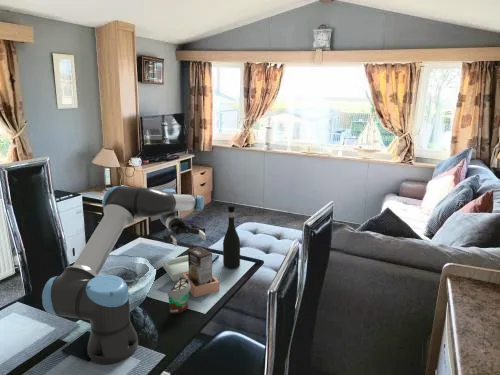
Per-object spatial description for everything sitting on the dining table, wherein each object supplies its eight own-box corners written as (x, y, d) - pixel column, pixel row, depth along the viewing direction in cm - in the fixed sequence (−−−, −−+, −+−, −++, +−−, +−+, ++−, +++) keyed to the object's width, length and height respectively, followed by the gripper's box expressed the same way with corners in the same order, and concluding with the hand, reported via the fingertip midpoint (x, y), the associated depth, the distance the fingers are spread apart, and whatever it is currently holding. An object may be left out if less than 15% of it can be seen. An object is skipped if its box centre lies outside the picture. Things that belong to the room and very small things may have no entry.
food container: (184, 317, 131) (183, 293, 129) (168, 315, 133) (167, 291, 130) (195, 299, 143) (195, 277, 141) (181, 297, 144) (180, 275, 142)
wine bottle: (220, 264, 172) (219, 205, 165) (233, 260, 177) (233, 202, 170) (229, 271, 166) (229, 209, 159) (243, 266, 171) (243, 206, 163)
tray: (173, 281, 157) (172, 275, 156) (162, 266, 170) (162, 260, 170) (211, 271, 166) (211, 265, 165) (198, 258, 179) (198, 252, 178)
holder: (194, 297, 145) (194, 288, 144) (182, 281, 157) (182, 273, 156) (219, 290, 150) (219, 281, 149) (206, 276, 162) (206, 267, 161)
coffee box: (188, 284, 154) (187, 249, 150) (201, 279, 159) (200, 245, 155) (200, 293, 148) (199, 257, 144) (213, 287, 152) (212, 252, 148)
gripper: (199, 227, 184) (216, 242, 166) (150, 237, 172) (163, 254, 154) (199, 214, 182) (216, 227, 164) (149, 222, 170) (162, 238, 152)
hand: (190, 240), depth 159 cm, fingers open, 13 cm apart
